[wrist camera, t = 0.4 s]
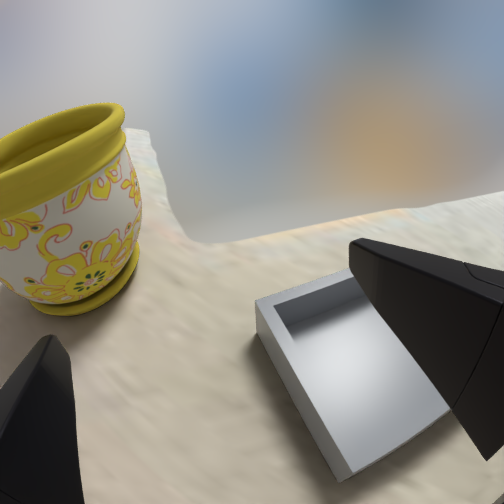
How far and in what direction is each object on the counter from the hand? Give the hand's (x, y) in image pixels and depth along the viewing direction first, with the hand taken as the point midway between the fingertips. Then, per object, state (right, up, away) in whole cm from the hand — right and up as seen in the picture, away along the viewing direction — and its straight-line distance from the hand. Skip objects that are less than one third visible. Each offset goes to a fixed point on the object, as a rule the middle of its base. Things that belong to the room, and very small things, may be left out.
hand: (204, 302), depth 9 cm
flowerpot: (-17, -1, +24) cm, 30 cm away
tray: (+11, -7, +14) cm, 19 cm away
